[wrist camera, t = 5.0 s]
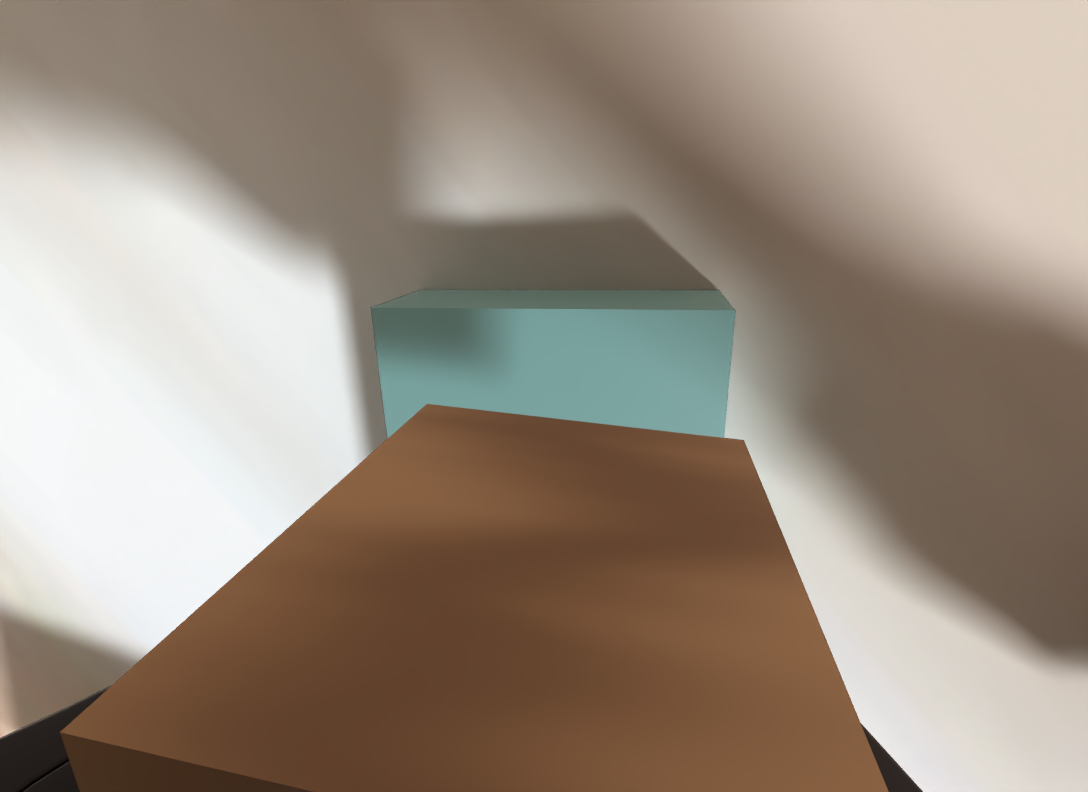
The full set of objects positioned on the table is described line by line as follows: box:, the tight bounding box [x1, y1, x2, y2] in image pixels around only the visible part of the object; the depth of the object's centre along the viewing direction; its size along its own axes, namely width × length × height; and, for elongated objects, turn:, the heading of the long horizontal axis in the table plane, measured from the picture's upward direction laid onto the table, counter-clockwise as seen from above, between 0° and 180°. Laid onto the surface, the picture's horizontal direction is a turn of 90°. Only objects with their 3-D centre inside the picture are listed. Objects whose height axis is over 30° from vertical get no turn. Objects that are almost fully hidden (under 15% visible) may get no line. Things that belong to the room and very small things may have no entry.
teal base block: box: [371, 290, 735, 439], centre depth 18 cm, size 10×10×4 cm
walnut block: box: [60, 404, 889, 792], centre depth 7 cm, size 5×5×6 cm
